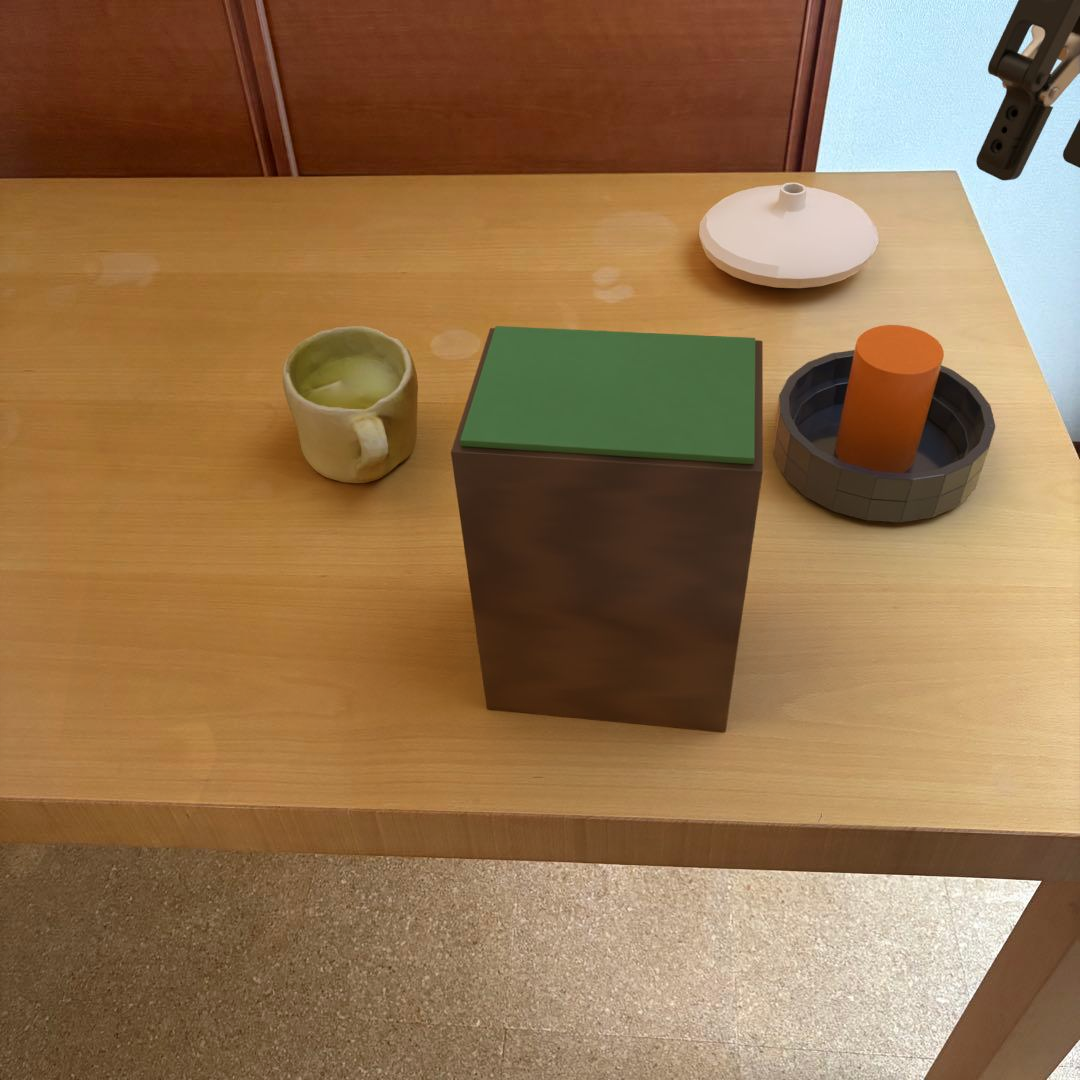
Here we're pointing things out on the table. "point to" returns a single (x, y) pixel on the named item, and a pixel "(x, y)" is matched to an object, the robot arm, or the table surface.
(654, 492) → the stand
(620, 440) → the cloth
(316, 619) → the table surface
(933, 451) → the pot
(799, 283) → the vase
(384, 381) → the mug
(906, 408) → the orange can
